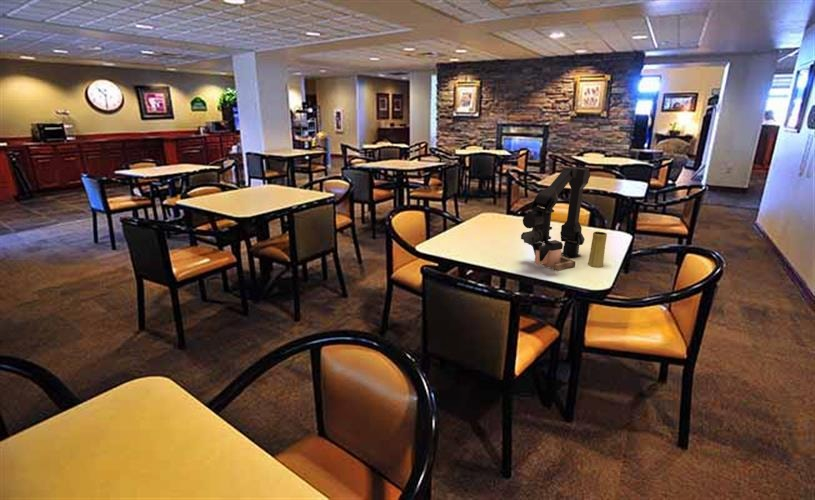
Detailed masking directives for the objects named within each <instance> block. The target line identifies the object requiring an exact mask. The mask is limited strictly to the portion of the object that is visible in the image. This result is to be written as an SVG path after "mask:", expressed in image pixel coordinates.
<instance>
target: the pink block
mask: <svg viewBox="0 0 815 500" xmlns="http://www.w3.org/2000/svg"><path fill="white" fill-rule="evenodd" d="M562 252H563V248H562V249H560V250H554V251H551V250H549V252H548V253H547V255H546V256H545V258H544V259H543V261H540V249H538V250H536V253H534V264H535V265H537V266H539V265H542V267H543V268H544V267H545V268H547V269H554V264H558V263H560V259H561V256H562V254H561V253H562Z"/></svg>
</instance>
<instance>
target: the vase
mask: <svg viewBox="0 0 815 500" xmlns="http://www.w3.org/2000/svg"><path fill="white" fill-rule="evenodd" d="M607 235H608V233H606V232H605V231H594V232H593V234H592V240H591V244H590V245H591V246H590V252H589V259H588V262H587V265H588V266H590V267H593V268H602V267H604V260H605V253H606V252H605V251H606V243H607V237H608V236H607Z"/></svg>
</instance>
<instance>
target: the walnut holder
mask: <svg viewBox="0 0 815 500" xmlns="http://www.w3.org/2000/svg"><path fill="white" fill-rule="evenodd" d="M575 267H576V261H575V260H573V259H571V258H569V257H566V256H564V255H561V259H560V263H558V264H554V268H553V271H554V272H555V271H556V272H559V271H563V270H567V269H572V268H573V269H574V268H575Z"/></svg>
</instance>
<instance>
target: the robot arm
mask: <svg viewBox="0 0 815 500" xmlns="http://www.w3.org/2000/svg"><path fill="white" fill-rule="evenodd" d="M590 178H591V172H590V171H589V169H588V168H583V167H574V166H573V167H571V166H565V167H562V170H561V172H560V173H559V174H558V175H557V177H556V178H555V179H554V180H553V182H552V183H551V184H550V185H549V186H548V187H546V188H544V189H542V190H540V191H539V192H538V193H537V194H536V195H535V197H534V199H533V201H532V203H531V205H530V207H529V210H528V211H527V214H525V215H524V216H523V218H522V223H523V226H524V228H527V229H531V230H529V231H524V232H522V233H521V235H520V240H523V243H524V244H527V245H530V246H532V247H531V248H532V249H533V254H535V253H536V250H538V249H540V261H543V259H544V258H545V256H546V255H547V253H548V252H549V250H551V251H554V250H560V249H562V252H561V256H563V257H566V258H568V259H572V258H573V259H574V258H577V257H578V258H579V257H581V256H582V255H581V254H579V251H580V246H583V244H585V237H584V235H583V233H582V230H583V228H582V226H581V222H580V214H581V207H582V200H583V192H584V189H585V187H586V186H587V185H588V184H589V180H590ZM567 185H569V186H570V195H569V201H568V202H569V203H568V208H567V209H568V210H567V217H566V221H565V223H563V224H561V228H560V233H559V235H560V241H559V240H557V239H553V240H552V236H551V235H550V231H551V230H553V226H551V223H552V221H551V220H552V213H554V212H555V210H554V209H553V208H554V207H555V206H556V204H557V202H558V200H559V199H558V196H560V195H561V194H560V193H561V192H562V191H563V190H564V188H565V187H566V186H567ZM563 242H564V244H563Z"/></svg>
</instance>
